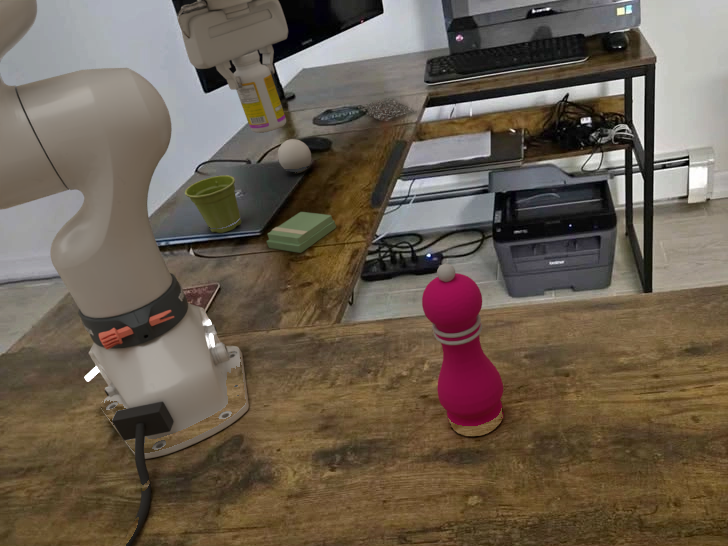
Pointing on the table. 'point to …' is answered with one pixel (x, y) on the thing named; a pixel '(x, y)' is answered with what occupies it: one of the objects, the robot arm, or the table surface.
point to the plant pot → (216, 202)
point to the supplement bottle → (258, 94)
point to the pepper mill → (462, 349)
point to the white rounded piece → (294, 155)
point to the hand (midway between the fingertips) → (253, 81)
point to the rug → (384, 109)
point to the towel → (300, 232)
